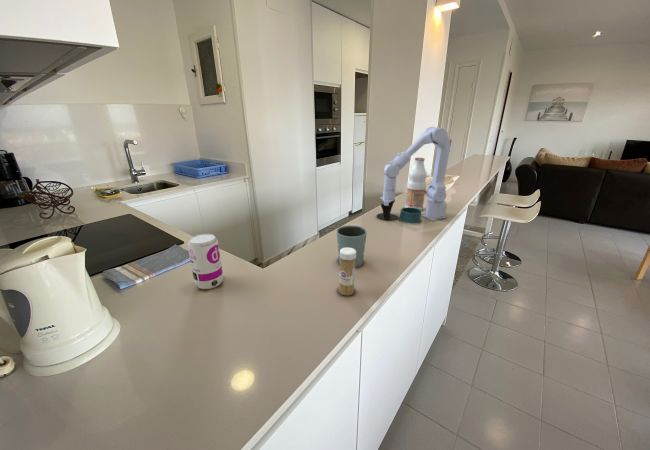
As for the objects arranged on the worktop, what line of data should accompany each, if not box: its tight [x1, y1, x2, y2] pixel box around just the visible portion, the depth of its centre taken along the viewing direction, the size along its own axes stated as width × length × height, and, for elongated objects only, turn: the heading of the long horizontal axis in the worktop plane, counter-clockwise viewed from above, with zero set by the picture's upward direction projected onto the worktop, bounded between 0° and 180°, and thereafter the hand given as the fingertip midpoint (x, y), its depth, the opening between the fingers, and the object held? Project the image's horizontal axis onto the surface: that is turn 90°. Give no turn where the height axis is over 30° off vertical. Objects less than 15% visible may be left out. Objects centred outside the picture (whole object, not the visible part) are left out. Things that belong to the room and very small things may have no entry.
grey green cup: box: [336, 225, 368, 268], centre depth 96 cm, size 10×10×12 cm
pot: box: [399, 207, 423, 224], centre depth 136 cm, size 10×10×5 cm
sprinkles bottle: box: [338, 248, 356, 296], centre depth 79 cm, size 5×5×13 cm
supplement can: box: [187, 233, 224, 290], centre depth 83 cm, size 8×8×15 cm
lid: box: [376, 212, 398, 222], centre depth 140 cm, size 10×10×5 cm
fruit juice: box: [404, 157, 428, 211], centre depth 150 cm, size 9×9×28 cm
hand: (387, 215), depth 140 cm, fingers open, 7 cm apart
